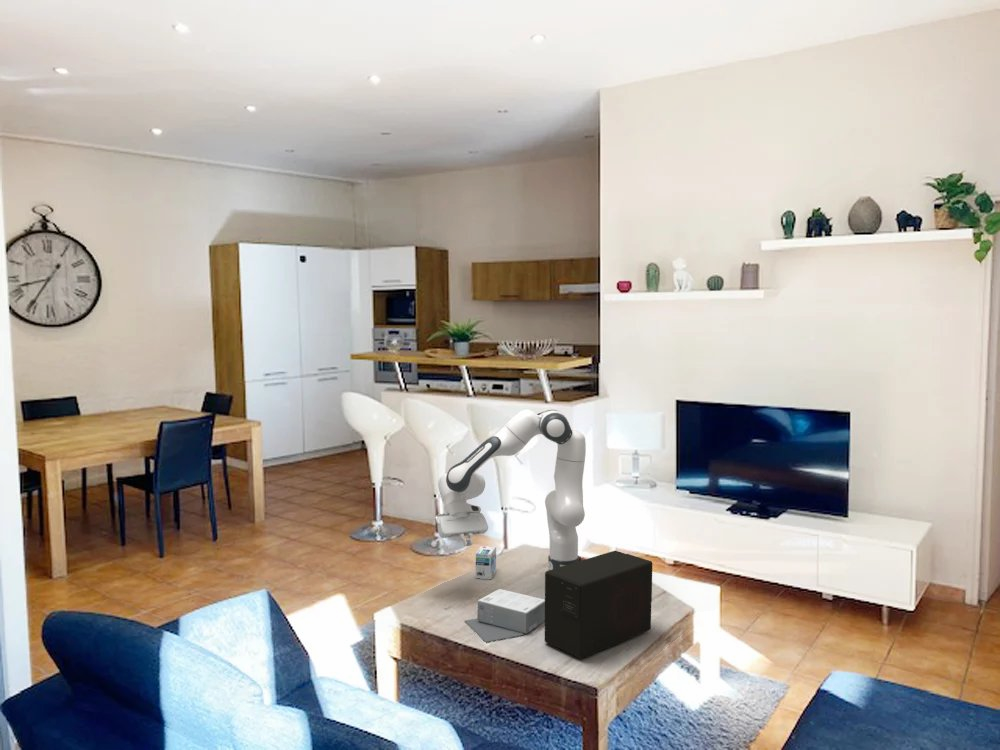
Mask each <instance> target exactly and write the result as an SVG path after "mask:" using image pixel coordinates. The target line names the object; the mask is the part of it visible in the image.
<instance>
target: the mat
mask: <svg viewBox="0 0 1000 750" xmlns="http://www.w3.org/2000/svg"><path fill="white" fill-rule="evenodd" d="M465 622H466V623H467V624H468V625H469V626H470V627H471V628H472V629H473V630H474V631H475V632H476V633H477V634H478V635H479V636H480V637H481V638H482V639H483V640H484V641H485V642H488V643H492V642H491V641H493V642H497V641H496V640H499V641H502V640H501V639H504V640H507V639H506V638H509V639H513V637H514V638H518V637H519V636H520V637H524V635H525V633H521V632H518V631H514V630H510V629H507V628H503V627H499V626H495V625H492V624H488V623H484V622H480V621H477V618H472V619H466V620H464V623H465ZM466 623H465V624H466ZM467 624H466V625H467ZM468 625H467V626H468ZM469 626H468V627H469ZM470 627H469V628H470ZM471 628H470V629H471ZM472 629H471V630H472ZM473 630H472V631H473ZM474 631H473V632H474ZM475 632H474V633H475ZM476 633H475V634H476ZM477 634H476V635H477ZM478 635H477V636H478ZM480 637H479V638H480ZM520 637H519V638H520ZM481 638H480V639H481ZM482 639H481V640H482ZM483 640H482V641H483ZM484 641H483V642H484ZM485 642H484V643H485Z"/></svg>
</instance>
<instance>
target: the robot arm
mask: <svg viewBox="0 0 1000 750" xmlns="http://www.w3.org/2000/svg"><path fill="white" fill-rule="evenodd" d="M538 435H542V436H544V438H546V439H547V440H549V441H551V442H553V443H556V444H557V451H556V459H555V467H554V473H553V474H554V475H553V479H554V485H555V487H554V490H552V491H550V492H549V493H547V495H546V497H545V499H544V504H545V509H546V518H547V519H546V521H547V527H548V534H549V536H548V537H549V555H548V560H547V562H548V563H547V564H548V566H547V567H548V569H547V571H549V570H552V569H555V568H559V567H562V566H565V565H569V564H572V563H575V562H578V561H582V560H585V559H586V558H585V557H581V556H580V555H579V535H578V533H577V532H578V531H577V529H576V527H578V526H580V525H581V524H582V523H583V522H584V519H585V514H586V513H585V508H584V498H583V497H584V494H583V493H584V491H583V478H584V470H585V462H586V454H587V453H586V451H587V448H586V446H587V443H586V437H585V435H584V434H583V433H582V432H580V431H579V430H574V429H572V427H571V424H570V423H569V420H568V419H567V417H566V415H565V414H564V413H562V412H561V411H559V410H556V409H548V410H545V411H542V412H539V413H536V412H535V411H533V410H531V409H522V410H520V411H519V412H517V414H516V415H514V416H513V417H512V418H511V419H510V420H509V421H507V423H505V425H504V426H502V428H501V429H500V430H499V431H498V432H496V433H495V434H494V435H492V436H491V437H488V438H486V439H485V440H484V441H483V442H482V443H481V444H479V445H478V446H477V447H476V448H475V450H473V451H472V452H471V453H469V455H468V456H466V457H465V458H464V459H463V460H461V461H460V462H458V463H456V464H454V465H453V466H451V467H450V468H449V469H448V471H447V472H446V473H444V474H442V475H441V476H440V477H439V479H438V484H437V486H438V491H439V495H440V499H441V500H442V502H443V505H444V510H445V513H438V514H436V516H435V517H434V518H435V522H436V524H437V526H436V527H437V533H438V535H439V537H440V538H441V539H446V538H455V537H456V538H458V539H459V541H461V542H462V544H463V546H464V547H471V546H472V545H473V544H474V543H473V536H475V535H485V534H486V532H488V530H489V525H488V522H487V519H486V517H485V514H483V513H482V512H481V511H482V510H481V509H482V508H481V507H480V506H478V505H474V504H470V503H469V502H467V500H472V499H475V498H476V497H479V496H481V495H482V494H483V492H484V490H485V488H486V481H485V478H484V477H483V475H481V474H479V473H478V472H476V471H478V470H479V469H480V468H481V467H483V465H485V464H486V463H487V462H488V461H489V460H490V459H492V458H495V457H501V456H502V457H503V456H507V457H508V456H509V457H512V456H515V455H516V454H518V453H519V452H521V451H522V450H523V449H524V448H525V447H526V445H527V444H528V443H529V442H530V441H531V440H532V439H533V438H535V436H538ZM466 537H467V539H466Z"/></svg>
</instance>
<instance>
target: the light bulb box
mask: <svg viewBox="0 0 1000 750" xmlns="http://www.w3.org/2000/svg"><path fill="white" fill-rule="evenodd" d="M495 572H496V573H497V547H496V546H486V545H485V546H484V545H480V546H479V549H478V550H477V551H476V552H475V579H476V578H480V579H479V580H489V579H491V580H492V579H493V577H494V576H495V574H496V573H495ZM493 575H494V576H493Z"/></svg>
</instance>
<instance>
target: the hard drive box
mask: <svg viewBox="0 0 1000 750" xmlns="http://www.w3.org/2000/svg"><path fill="white" fill-rule="evenodd" d="M476 619H477V621H480V622H484V623H488V624H492V625H495V626H499V627H503V628H507V629H510V630H514V631H518V632H521V633H523V634H524V635H526V634H528V633H530V632H531V631H533V630H534V629H535V628H537V627H538V626H539V625H541V624H542V623H545V598H540V597H535V596H531V595H527V594H524V593H519V592H515V591H510V590H505V589H502V588H498V589H497V590H495V591H493V592H491V593H489V594H487V595H486V596H483V597H481V598H480V599H478V600H477V617H476Z"/></svg>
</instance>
